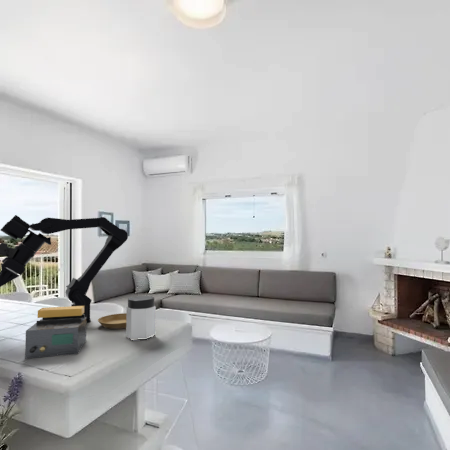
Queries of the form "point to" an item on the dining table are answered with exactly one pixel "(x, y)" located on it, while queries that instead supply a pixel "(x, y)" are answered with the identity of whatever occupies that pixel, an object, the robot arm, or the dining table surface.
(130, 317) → the jar
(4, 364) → the dining table surface
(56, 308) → the key
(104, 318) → the plant saucer
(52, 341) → the box
